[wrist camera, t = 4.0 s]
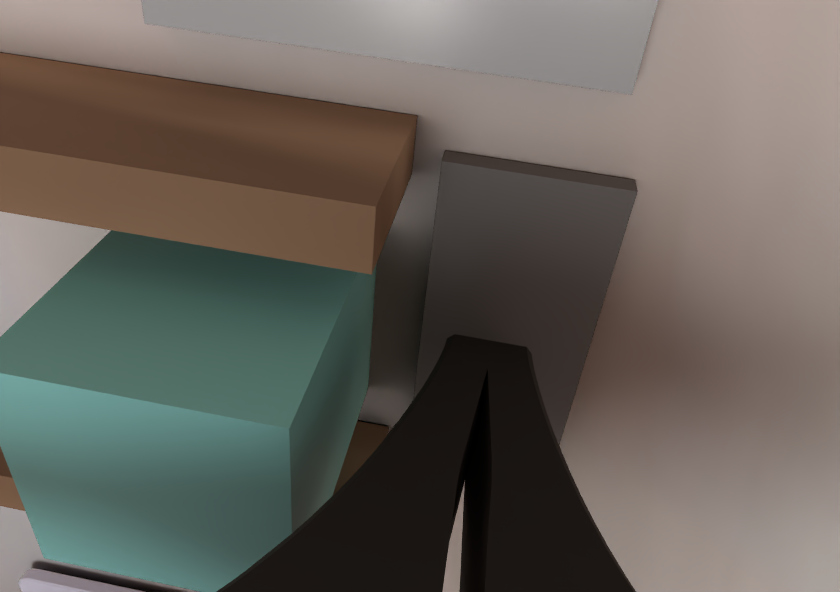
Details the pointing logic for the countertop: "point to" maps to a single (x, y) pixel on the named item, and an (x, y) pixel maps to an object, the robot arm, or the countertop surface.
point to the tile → (444, 33)
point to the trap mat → (523, 264)
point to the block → (182, 405)
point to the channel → (203, 172)
